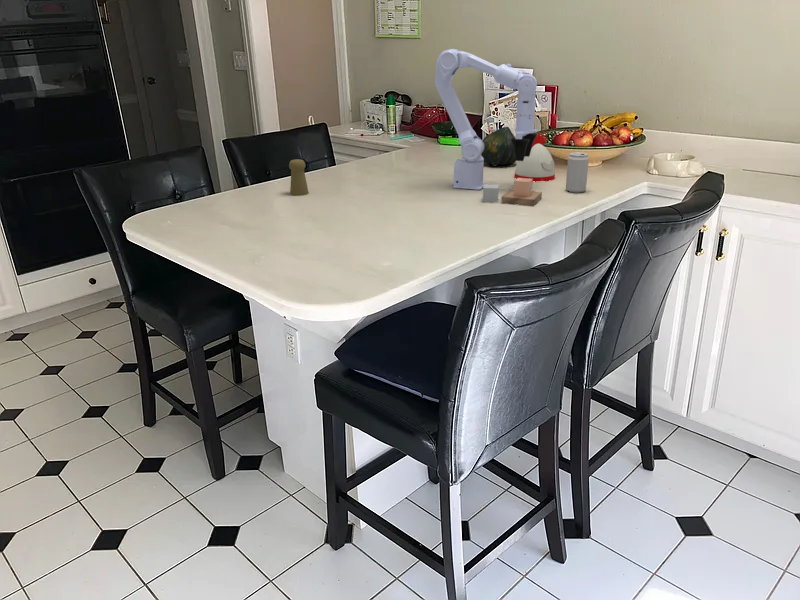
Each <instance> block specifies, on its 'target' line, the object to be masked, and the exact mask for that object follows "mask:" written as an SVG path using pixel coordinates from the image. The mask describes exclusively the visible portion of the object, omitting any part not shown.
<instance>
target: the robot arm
mask: <svg viewBox="0 0 800 600" xmlns="http://www.w3.org/2000/svg"><path fill="white" fill-rule="evenodd" d="M465 68H472V69H474V70H477V71H480V72H481V73H483V74H488V75H490V76H492V77H493V79H494V80H495V83H497V84H500V85H502V86H504V87H507V88H509V89H512V90H513V91H514V90H517V100H516V114H515V116H516V117H515V129H514V133H515V135H514V136H515V138H511V141H512V143H513V146H514V149H515V155H516V160H517V161H516V162H518V161H523V160H524V157H525V156H526V157H529V156H530V153H531V149H532V145H533V142H534V140H535V138H536V136H537V135H538V130H539V129H535V117H536V116H535V115H536V103H537V102H536V101H537V100H536V95H537V93H536V90H537V86H538V81H537V78H536V77H535V76H534V75H533V74H531V73H526V71H525V70H522V71H521V70H519V69H516V68H514V67H512V64H510V63H507V64H505V63H503V64H499V65H496V64H494V63H492V62H490V61H487V60H485V59H483V58H481V57H479V56H477V55H475V54H472V53H471V52H467V51H463V50H459V49H456V48H449V49H445V50H442V52H441V53H440V54H439V56H438V57H437V61H436V62H435V76H434V86H435V88H436V90H437V92H438V94H439V97H440V99H441V102H442V103H443V105H444V108H445V109H446V112H447V114H448V117H449V118H450V121H451V123H452V125H453V126H454V129H455V131H456V133H457V136H458V141H459V144H460V146H461V155H462V157H461V159H456V160H455V161H454V165H453V186H452V188H453V189H463V190H464V189H466V190H475V191H479V190H483V187H484V185H488V184H487V183H485V182H484V166H485V163H484V158H483V157H482V155H481V153H482V152H483V150H484V143H483V139H481V138H480V137H479V136H478V135H477V133H476V131H475V130H474V129H473V127H472V125H471V123H470V121H469V119H468V116H467V114H466V112H465V110H464V108H463V105H462V103H461V101H460V99H459V97H458V94H457V92H456V90H455V88H454V86H453V83H452V82H453V80H454V78H455V77H454V76H455V74H456V72H457V71H458V70H459V69H465Z"/></svg>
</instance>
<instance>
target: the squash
mask: <svg viewBox="0 0 800 600" xmlns="http://www.w3.org/2000/svg"><path fill="white" fill-rule="evenodd" d="M515 136H516V135H514V134H513V132H512V130H511V129H510V127H509V126H503V127H500V128H499V129H498V128H497V129H496V130H494V131H493V132H491V133H489V134H487V135H486V136H484V138H483V139H482V141H483V143H484V150H483V152H482V153H481V155H482V157H483V158H484V165H486V166H489V167H492V166H494V167H498V165H502V166H503V165H504V166H510V165H513V164H515V163H516V162H518V161H517V160H516V155H515V149H514V146H513V143H512V141H511V138H515Z"/></svg>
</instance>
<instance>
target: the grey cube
mask: <svg viewBox="0 0 800 600" xmlns="http://www.w3.org/2000/svg"><path fill="white" fill-rule="evenodd" d="M492 202H499V184H487V185H484V187H483V188H482V203H492Z"/></svg>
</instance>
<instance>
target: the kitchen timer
mask: <svg viewBox="0 0 800 600" xmlns="http://www.w3.org/2000/svg"><path fill="white" fill-rule="evenodd" d="M546 141H547V136H545V134H543V133H541V134H540V133H537V136H536V138H535V140H534V142H533V145H532V149H531V153H530V156H529V157H526V156H525V157H524V160H523V161H517V163H516V166H515V169H514V178H516V179H517V178H528V179H533V181H535V182H533V181H532V183H537V182H536V181H545V182H550V181H549V180H551V181H553V180H555V179H556V178H555V177H556V169H555V161H554V159H553V156H552V154H551V153H550V151H549V150H548V148H547V147H545V144H546ZM516 179H515V180H516Z"/></svg>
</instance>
